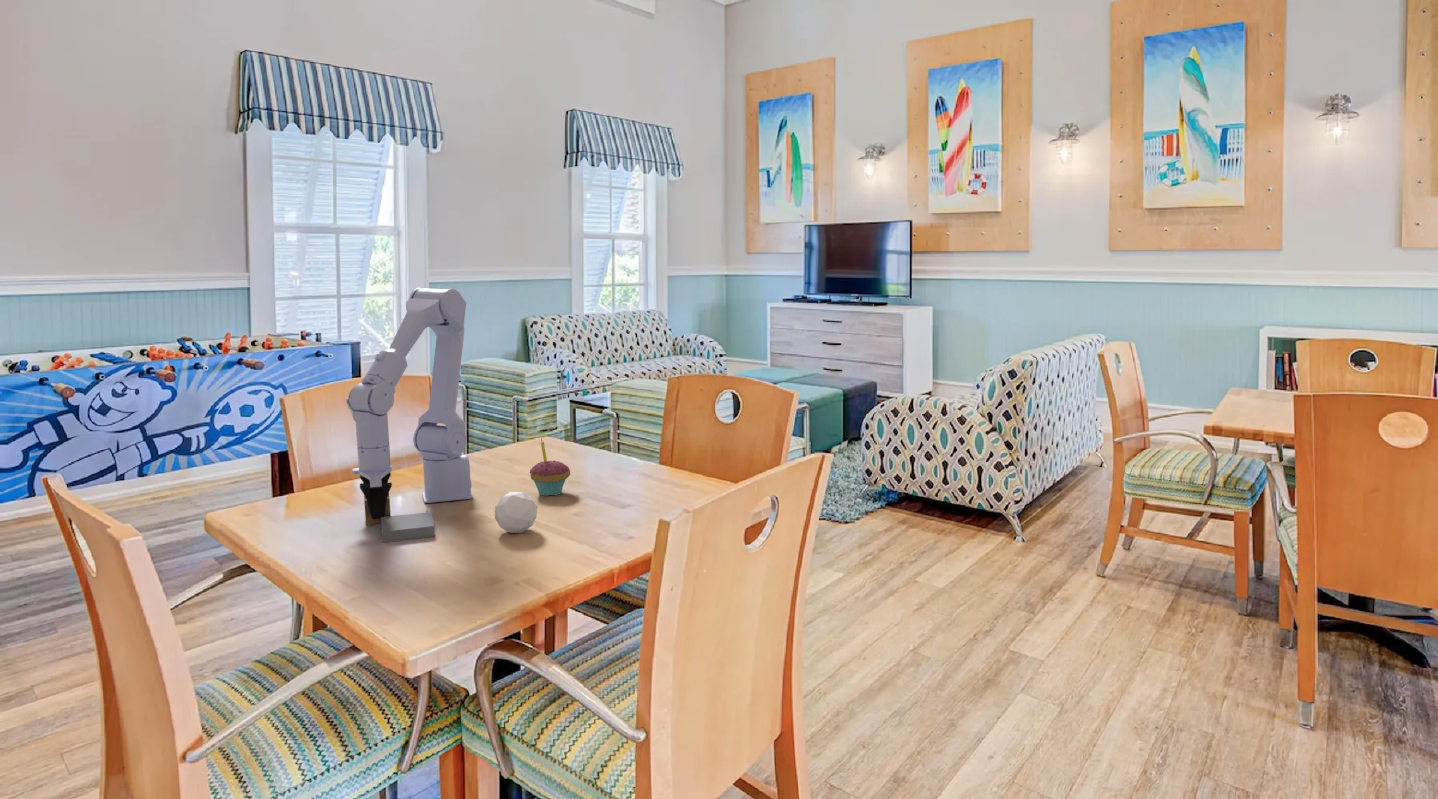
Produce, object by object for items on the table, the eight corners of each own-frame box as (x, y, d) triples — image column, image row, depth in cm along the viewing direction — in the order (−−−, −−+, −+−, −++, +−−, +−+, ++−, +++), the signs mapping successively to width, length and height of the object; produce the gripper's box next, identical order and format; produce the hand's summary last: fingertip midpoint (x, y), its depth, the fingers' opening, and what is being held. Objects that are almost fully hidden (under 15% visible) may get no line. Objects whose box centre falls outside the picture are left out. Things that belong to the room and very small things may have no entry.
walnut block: (390, 516, 170) (388, 492, 169) (391, 523, 166) (389, 498, 165) (365, 519, 168) (364, 494, 167) (366, 525, 164) (364, 500, 163)
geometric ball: (516, 541, 164) (524, 502, 167) (540, 535, 159) (549, 495, 162) (482, 529, 159) (491, 489, 163) (506, 523, 154) (515, 481, 158)
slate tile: (431, 521, 166) (430, 512, 166) (434, 536, 158) (434, 525, 158) (381, 527, 163) (380, 517, 163) (382, 542, 155) (381, 531, 155)
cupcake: (522, 495, 184) (520, 441, 182) (545, 485, 192) (543, 433, 190) (557, 500, 181) (555, 445, 179) (578, 490, 189) (577, 436, 187)
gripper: (351, 439, 169) (355, 505, 172) (350, 455, 156) (355, 527, 159) (389, 436, 172) (393, 501, 174) (391, 452, 159) (395, 522, 161)
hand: (377, 513), depth 167 cm, fingers open, 6 cm apart
